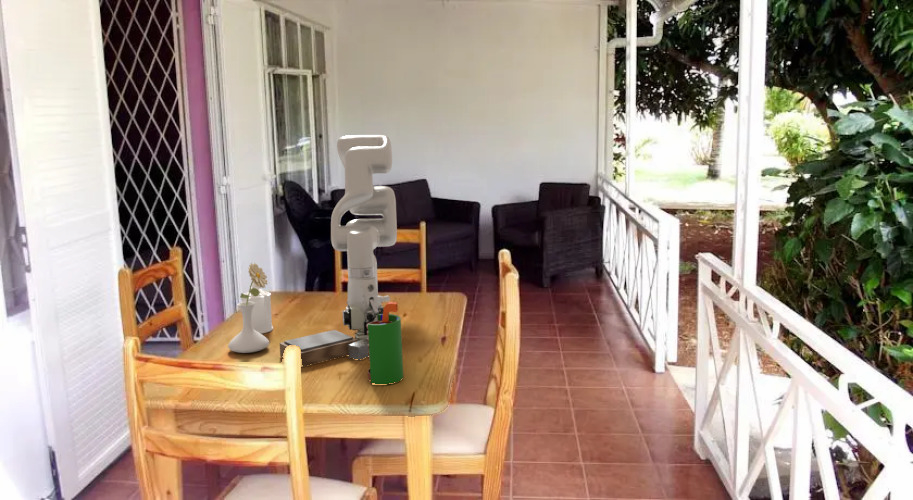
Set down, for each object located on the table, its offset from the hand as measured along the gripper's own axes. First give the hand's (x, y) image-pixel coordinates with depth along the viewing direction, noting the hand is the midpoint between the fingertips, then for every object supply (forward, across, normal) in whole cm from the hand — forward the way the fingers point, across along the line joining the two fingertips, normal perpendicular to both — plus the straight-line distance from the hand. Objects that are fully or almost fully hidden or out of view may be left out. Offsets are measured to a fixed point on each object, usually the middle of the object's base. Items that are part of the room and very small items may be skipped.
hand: (363, 331), depth 217 cm
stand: (+3, -2, +16) cm, 17 cm away
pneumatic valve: (+3, 0, 0) cm, 3 cm away
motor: (+3, -30, +13) cm, 33 cm away
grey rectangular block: (+3, -11, +8) cm, 14 cm away
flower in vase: (+3, +16, +28) cm, 32 cm away
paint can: (+3, +32, +18) cm, 37 cm away
